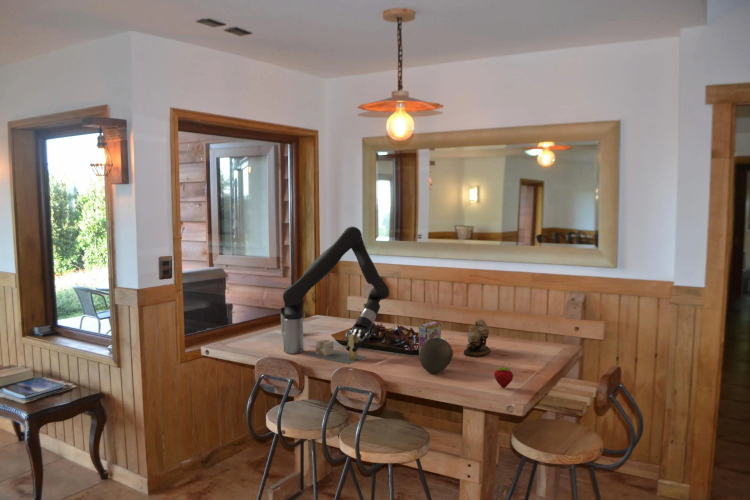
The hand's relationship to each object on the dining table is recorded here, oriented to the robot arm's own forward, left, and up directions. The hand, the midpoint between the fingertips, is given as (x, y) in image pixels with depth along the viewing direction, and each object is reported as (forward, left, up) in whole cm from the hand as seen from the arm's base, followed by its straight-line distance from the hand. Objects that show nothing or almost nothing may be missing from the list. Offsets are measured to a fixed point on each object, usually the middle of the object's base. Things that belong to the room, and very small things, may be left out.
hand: (350, 350), depth 264 cm
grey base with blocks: (-11, +2, -5) cm, 12 cm away
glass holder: (-62, +24, -6) cm, 67 cm away
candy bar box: (+27, +27, -6) cm, 39 cm away
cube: (-18, +2, -5) cm, 19 cm away
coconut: (+41, +9, -6) cm, 42 cm away
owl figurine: (+42, +47, -6) cm, 63 cm away
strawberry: (+74, +6, -6) cm, 74 cm away
